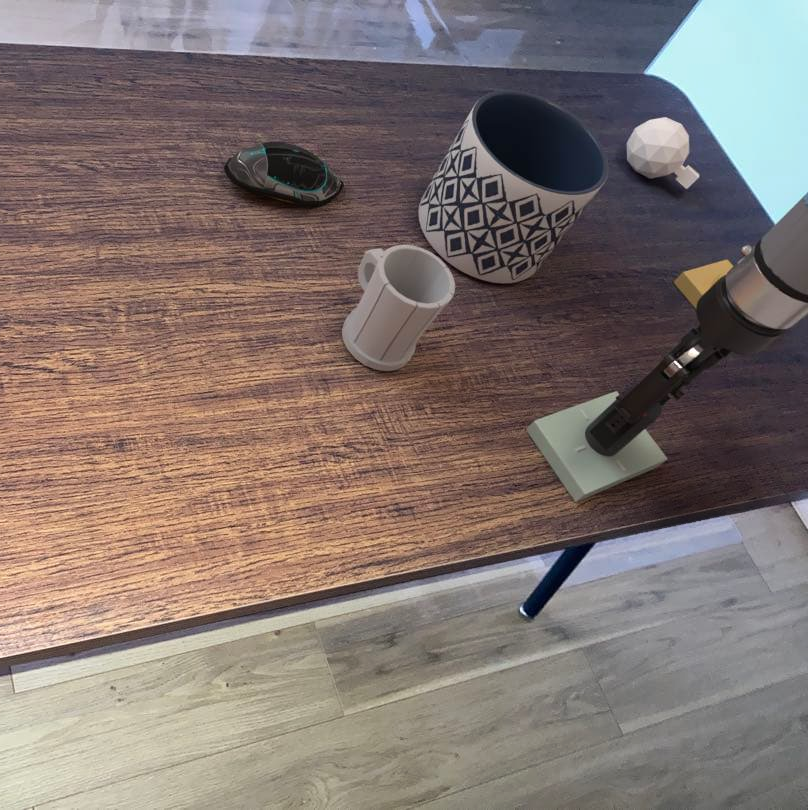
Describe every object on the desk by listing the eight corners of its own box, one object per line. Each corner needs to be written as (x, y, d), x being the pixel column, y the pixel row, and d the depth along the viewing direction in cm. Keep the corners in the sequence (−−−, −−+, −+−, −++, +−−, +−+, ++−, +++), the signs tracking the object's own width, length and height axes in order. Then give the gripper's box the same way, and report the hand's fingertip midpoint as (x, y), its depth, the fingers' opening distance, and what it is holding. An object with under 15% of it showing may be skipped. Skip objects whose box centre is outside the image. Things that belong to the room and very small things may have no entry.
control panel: (607, 399, 111) (617, 389, 110) (657, 467, 108) (668, 458, 106) (525, 429, 105) (534, 419, 103) (575, 502, 101) (586, 493, 99)
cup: (316, 342, 104) (353, 273, 94) (343, 292, 109) (380, 223, 99) (398, 386, 103) (442, 321, 94) (421, 334, 109) (465, 268, 99)
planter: (389, 208, 120) (442, 108, 107) (475, 171, 129) (533, 76, 116) (482, 305, 114) (549, 213, 101) (565, 259, 124) (636, 170, 111)
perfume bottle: (608, 156, 138) (668, 209, 137) (655, 107, 132) (718, 163, 131) (616, 146, 145) (672, 197, 144) (661, 100, 139) (720, 152, 138)
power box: (771, 332, 128) (792, 315, 125) (728, 348, 123) (748, 330, 120) (717, 269, 133) (735, 250, 129) (673, 282, 128) (691, 263, 125)
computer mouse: (351, 212, 117) (367, 179, 113) (226, 208, 111) (238, 173, 107) (333, 164, 122) (348, 131, 117) (213, 158, 116) (223, 123, 111)
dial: (587, 417, 106) (629, 377, 99) (621, 434, 106) (665, 395, 99) (582, 445, 103) (625, 406, 97) (616, 462, 103) (662, 424, 97)
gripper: (770, 245, 90) (631, 377, 109) (677, 302, 81) (543, 436, 100) (829, 299, 88) (677, 425, 106) (740, 364, 79) (590, 489, 97)
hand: (612, 430), depth 103 cm, fingers closed on dial, 4 cm apart
